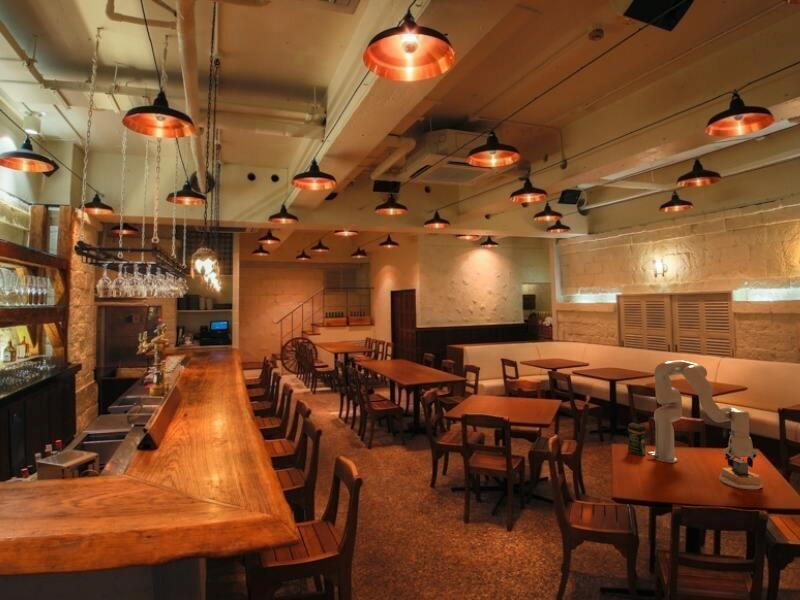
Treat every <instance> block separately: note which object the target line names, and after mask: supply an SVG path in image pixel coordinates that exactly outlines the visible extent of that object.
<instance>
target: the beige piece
mask: <svg viewBox="0 0 800 600" xmlns="http://www.w3.org/2000/svg"><path fill="white" fill-rule="evenodd" d="M720 471H721V472H720V474H719V481H720V482H721V483H722V484H725V485H726V486H729V487H731V488H733V489H734V488H736V489H738V488H739V489H740V490H744V489H747V490H746V491H756V490H755V489H760V488H762V489H763V483H762V481H761V475H758V474H756V473H755V472H751V471H749V470H748V475H738V474H737V473H735V472H733V471H732V467H721V469H720ZM748 489H749V490H748ZM760 490H761V489H760Z"/></svg>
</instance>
